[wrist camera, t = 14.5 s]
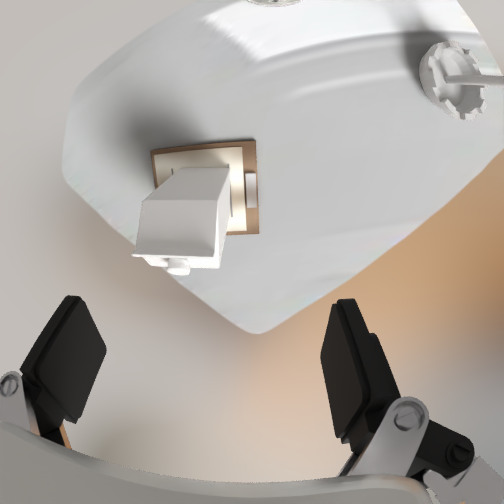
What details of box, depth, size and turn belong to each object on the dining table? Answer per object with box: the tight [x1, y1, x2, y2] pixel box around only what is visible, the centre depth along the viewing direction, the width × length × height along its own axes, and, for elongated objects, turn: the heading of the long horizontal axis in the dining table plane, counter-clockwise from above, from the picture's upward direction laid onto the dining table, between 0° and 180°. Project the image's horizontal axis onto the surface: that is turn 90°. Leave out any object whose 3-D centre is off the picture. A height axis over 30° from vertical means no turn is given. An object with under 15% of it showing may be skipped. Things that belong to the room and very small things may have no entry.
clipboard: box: [151, 141, 259, 235], centre depth 39 cm, size 14×15×1 cm
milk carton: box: [132, 168, 230, 275], centre depth 30 cm, size 7×7×19 cm
